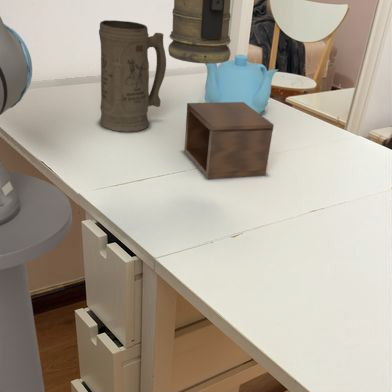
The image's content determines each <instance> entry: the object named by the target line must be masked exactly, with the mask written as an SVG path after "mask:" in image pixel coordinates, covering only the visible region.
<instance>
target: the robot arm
mask: <svg viewBox="0 0 392 392" xmlns="http://www.w3.org/2000/svg"><path fill="white" fill-rule="evenodd" d="M224 1H225V0H203V8H202V24H201V37H202V38H221V35H222V24H223V12H224ZM32 78H33V62H32V58H31V54H30V51H29V49H28V47H27V44H26V43H25V40H24V39H23V38H22V37H21V36H20V34H19V33H18V32H17V31H16V30H14V29H13V28H11V27H10V26H8V25H7V24H5V23H4V21H3V19H2V17H1V16H0V116H1V115H2V114H4V113H5V112H6V111H8V110H9V109H11V108H14V107H15V106H17V105H18V104H19V103H20V101H22V99H23V97H24V96H25V94H26V93H27V91H28V90H29V88H30V85H31V82H32ZM7 172H8V171H7V169H6V167H5V165H4V163H3V161H2V159H1V158H0V225H3V224H5V223H7V222H8V221H10V220H12V219H13V218H14V217H15V216H16V215H17V214H18V212H19V210H20V203H19V197H18V194H17V191H16V189H15V187H14V185H13V183H12V181H11V179H10V177H9V175H8V173H7Z"/></svg>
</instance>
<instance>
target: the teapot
mask: <svg viewBox="0 0 392 392" xmlns="http://www.w3.org/2000/svg"><path fill="white" fill-rule="evenodd" d="M248 60H249V57H248V56H247V55H244V54H236V55H235V54H234V60H231V59H229V60H228V61H226V62H223V63H219V65H218V63H214V64H206V63H204V65H205V66H206V70H207V71H206V72H207V73H206V81H205V86H204V101H205V103H220V102H244V103H245V104H247V105H248V106H249V107H251V108H252V109H253V110H255V111H256V112H257V113H259V114H260V115H261V113H263V111H265V109H266V108H267V106H268V104H269V100H270V97H271V94H272V93H271V92H272V83H273V82H272V81H273V77H274V75H275V74H276V73H277V72H278V71H279V69H278V68H277V69H269V70H268V69H267V67H266V65H264V64H262V63H254V62H251V61H250V62H249V61H248Z"/></svg>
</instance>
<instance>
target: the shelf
mask: <svg viewBox="0 0 392 392" xmlns="http://www.w3.org/2000/svg"><path fill="white" fill-rule="evenodd" d="M274 127H275V126H274V123H272V122H271V121H269V120H268V119H267V118H266V117H264V116H263V115H261V113H260V114H259V113H257V112H256V111H255V110H253V109H252V108H251V107H249V106H248V105H247V104H245V103H244V102H220V103H206V102H187V103H186V121H185V134H184V135H185V137H184V154H185V155H186V156H187V157H188V159H190V160H191V162H193V164H194V165H195V166H196V167H197V169H199V171H200V172H201V173H202V174H203V175H204V176H205V178H206V179H207V180H213V179H226V178H243V177H245V178H246V177H259V176H260V177H261V176H266V173H267V167H268V162H269V156H270V155H269V154H270V150H271V143H272V138H273V132H274V131H273V130H274Z"/></svg>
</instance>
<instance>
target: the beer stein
mask: <svg viewBox="0 0 392 392" xmlns="http://www.w3.org/2000/svg"><path fill="white" fill-rule="evenodd" d="M98 35H99V42H100V93H101V94H100V106H99V107H100V118H99V122H100V126H102V127H104V128H105V129H108V130H111V131H115V132H124V133H130V132H131V133H132V132H140V131H142V130H145V129H147V128H148V126H149V120H148V112H149V107H151V106H153V107H157V108H159V107H161V98H160V96H159V95H160V89H161V87H162V84H163V81H164V79H165V75H166V70H167V57H166V50H165V46H164V33H161V32H154V34H153V35H151V36H149V30H148V26H147V25H146V24H143V23H139V22H136V21H135V22H134V21H127V20H126V21H125V20H115V19H114V20H109V19H108V20H102V21H100V23H99V29H98ZM150 48H153V49H154V51H155V55H156V67H155V74H154V78H153V83H152V86H151V90H150V87H149V85H150V83H149V82H150V70H149V69H150V63H149V58H148V57H149V56H148V54H149V53H148V50H149V49H150ZM149 90H150V91H149ZM149 92H150V93H149Z"/></svg>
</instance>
